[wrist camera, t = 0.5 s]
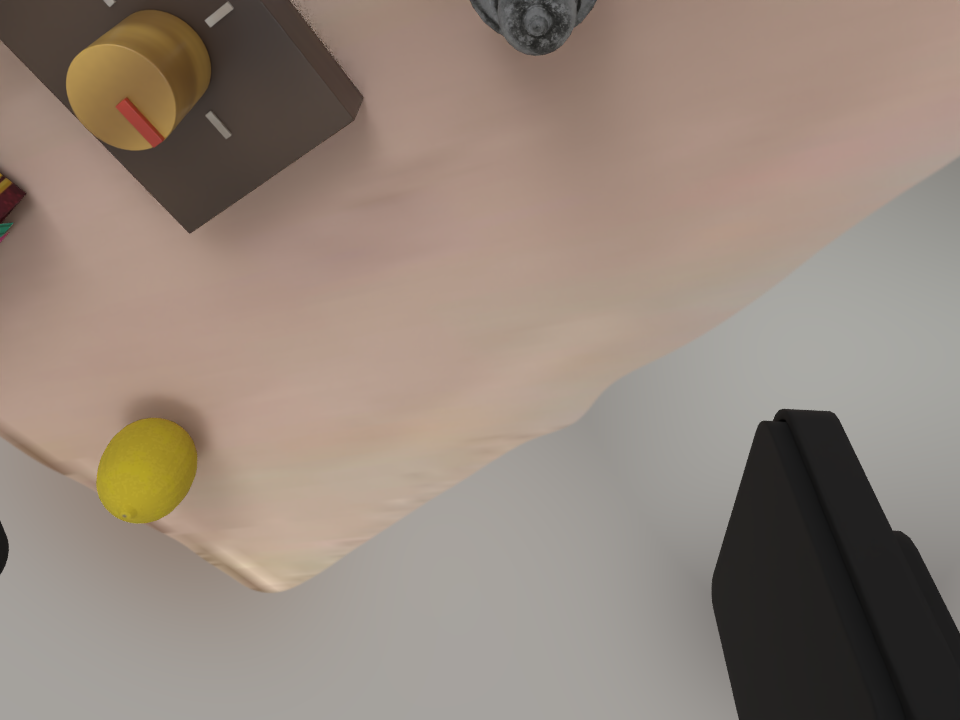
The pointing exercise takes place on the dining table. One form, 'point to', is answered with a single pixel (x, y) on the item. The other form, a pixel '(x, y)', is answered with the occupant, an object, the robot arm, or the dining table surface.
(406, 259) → the dining table surface
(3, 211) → the decorative book
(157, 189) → the lock plate
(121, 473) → the lemon
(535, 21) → the grey textured elongated piece
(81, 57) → the lock knob
